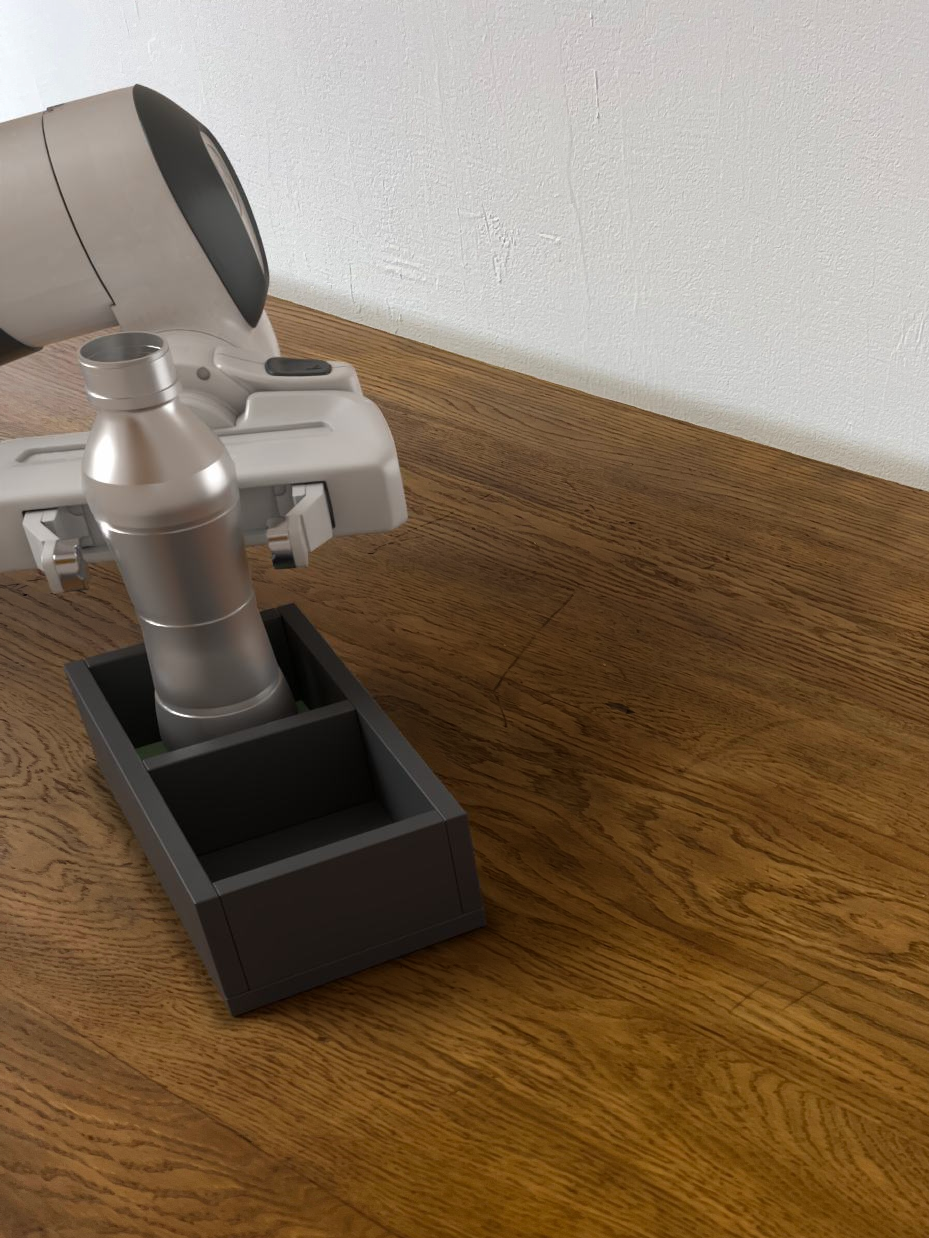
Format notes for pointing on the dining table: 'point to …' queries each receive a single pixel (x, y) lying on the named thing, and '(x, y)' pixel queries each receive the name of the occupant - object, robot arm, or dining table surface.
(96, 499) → the silver metal bottle
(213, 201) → the robot arm
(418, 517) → the dining table surface
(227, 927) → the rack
